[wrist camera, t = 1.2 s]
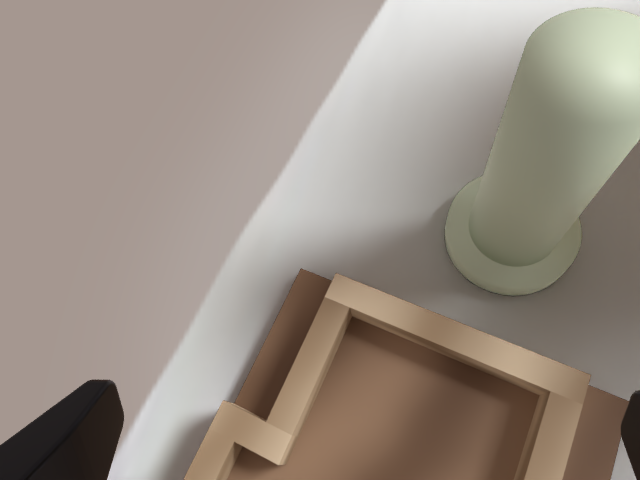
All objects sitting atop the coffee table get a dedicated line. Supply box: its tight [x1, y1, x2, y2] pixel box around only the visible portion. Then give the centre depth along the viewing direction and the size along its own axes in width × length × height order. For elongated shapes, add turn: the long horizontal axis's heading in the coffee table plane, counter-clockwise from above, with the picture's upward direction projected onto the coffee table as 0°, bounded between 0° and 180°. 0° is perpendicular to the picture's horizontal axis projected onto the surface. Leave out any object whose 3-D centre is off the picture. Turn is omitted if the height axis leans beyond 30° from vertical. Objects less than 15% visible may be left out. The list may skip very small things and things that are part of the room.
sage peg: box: [445, 8, 640, 296], centre depth 19 cm, size 6×6×12 cm
